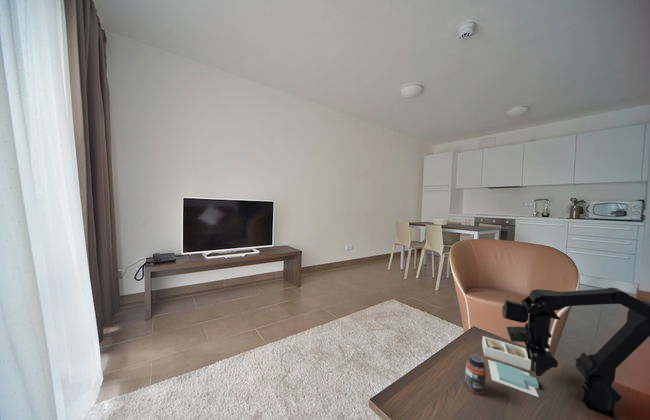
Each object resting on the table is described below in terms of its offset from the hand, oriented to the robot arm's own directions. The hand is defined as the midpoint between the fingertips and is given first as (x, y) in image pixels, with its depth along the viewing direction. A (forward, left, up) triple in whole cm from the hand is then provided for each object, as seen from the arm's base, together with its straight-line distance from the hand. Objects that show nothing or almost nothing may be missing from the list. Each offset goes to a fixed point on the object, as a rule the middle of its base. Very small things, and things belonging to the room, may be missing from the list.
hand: (533, 367), depth 82 cm
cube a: (+1, -15, -6) cm, 16 cm away
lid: (+4, 0, -6) cm, 8 cm away
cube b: (+4, -11, -6) cm, 13 cm away
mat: (+6, 0, -7) cm, 9 cm away
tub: (+6, -13, -7) cm, 16 cm away
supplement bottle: (+18, +13, -7) cm, 24 cm away
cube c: (+9, -13, -6) cm, 17 cm away
